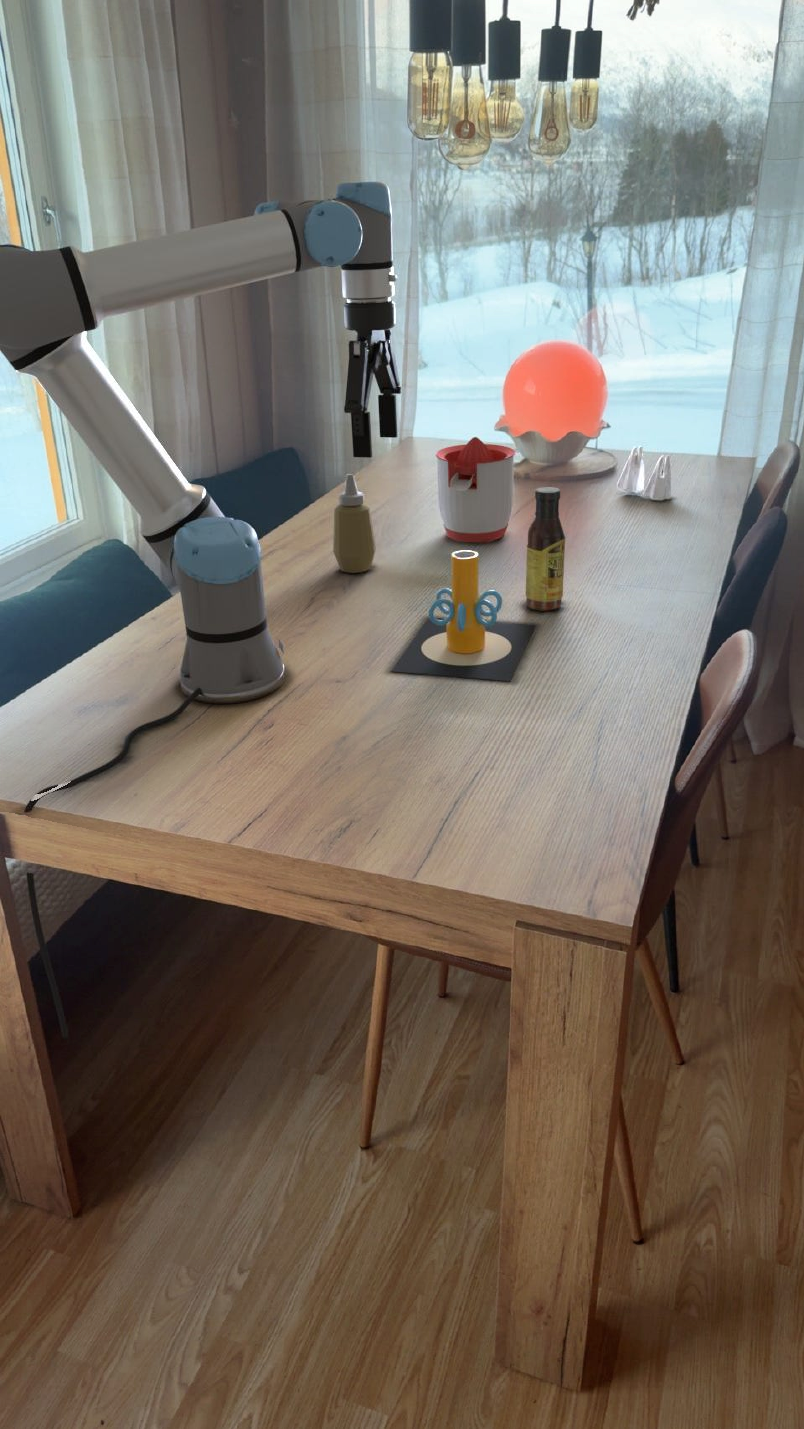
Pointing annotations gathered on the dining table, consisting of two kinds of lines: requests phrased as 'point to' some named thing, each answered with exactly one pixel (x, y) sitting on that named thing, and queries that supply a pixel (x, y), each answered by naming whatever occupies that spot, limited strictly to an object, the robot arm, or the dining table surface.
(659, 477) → the shaker set
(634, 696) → the dining table surface
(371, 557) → the squeeze bottle
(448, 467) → the citrus juicer
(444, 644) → the mat
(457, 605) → the cylinder
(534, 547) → the sauce bottle
